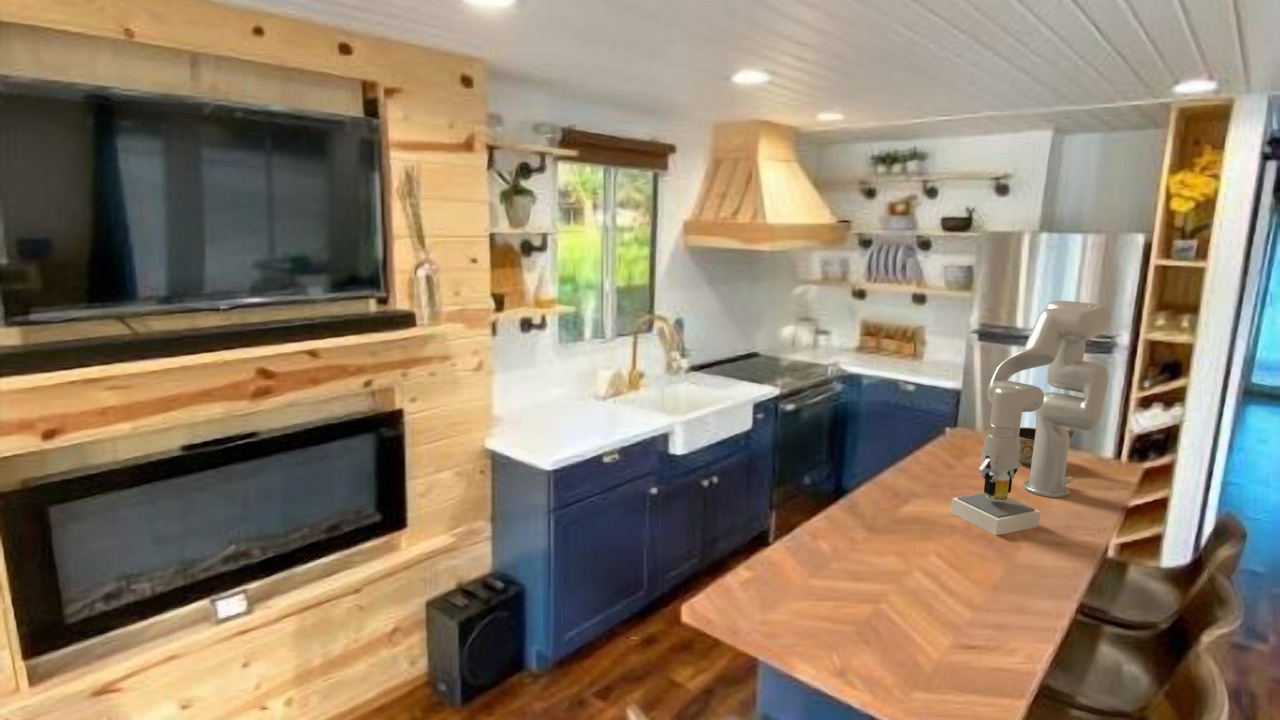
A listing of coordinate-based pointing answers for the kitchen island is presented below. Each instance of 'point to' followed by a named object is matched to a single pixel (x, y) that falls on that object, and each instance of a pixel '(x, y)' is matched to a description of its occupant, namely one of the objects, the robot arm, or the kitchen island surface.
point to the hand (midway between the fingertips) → (997, 491)
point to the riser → (995, 513)
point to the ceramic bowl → (1030, 443)
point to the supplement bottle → (1000, 487)
